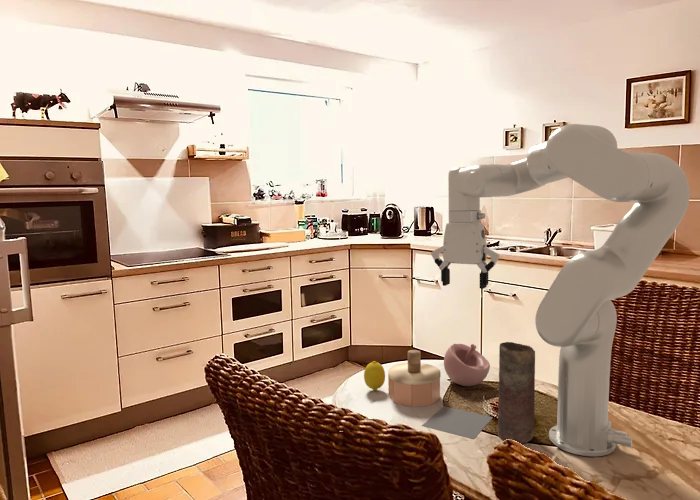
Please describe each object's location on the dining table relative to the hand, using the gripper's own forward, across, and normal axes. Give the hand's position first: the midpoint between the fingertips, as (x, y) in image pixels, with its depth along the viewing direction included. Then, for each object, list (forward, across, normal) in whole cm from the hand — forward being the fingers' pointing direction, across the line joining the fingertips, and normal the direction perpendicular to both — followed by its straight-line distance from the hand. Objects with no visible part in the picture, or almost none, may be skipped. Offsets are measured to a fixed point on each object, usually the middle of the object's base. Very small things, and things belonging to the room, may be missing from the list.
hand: (464, 286), depth 133 cm
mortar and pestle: (+28, +2, -6) cm, 29 cm away
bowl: (+28, +10, +8) cm, 31 cm away
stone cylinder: (+28, -18, +17) cm, 37 cm away
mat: (+28, -5, +17) cm, 33 cm away
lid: (+22, +10, +8) cm, 26 cm away
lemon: (+28, +21, +9) cm, 36 cm away
